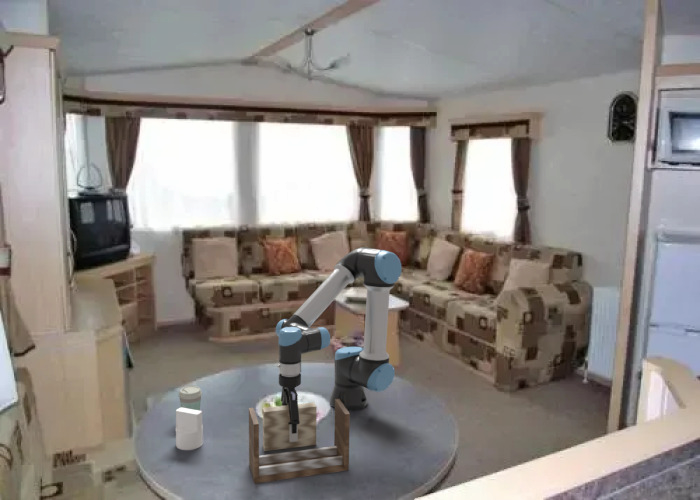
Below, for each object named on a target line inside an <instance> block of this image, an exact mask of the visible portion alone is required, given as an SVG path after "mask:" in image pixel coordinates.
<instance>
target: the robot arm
mask: <svg viewBox="0 0 700 500" xmlns="http://www.w3.org/2000/svg"><path fill="white" fill-rule="evenodd" d="M333 267H334V270H333V271H332V272H331V273H330V274H329V275H328V276H327V277H326V278H325V280H324V281H323V282H321V284H320V285H319V286H318V287H317V288H316V289H315V291H313V293H312V294H311V295H310V296H309V297H308V298H307V299H306V300H305V301H304V303H303V304H301V306H300V307H299V308H297V310H296V311H295V312H294V313H293V314H292V316H290V318H289V319H288V318H283V319H281V320H280V321H279V322H277V324H276V327H275V334H276V336H277V337H278V342H277V343H278V364H277V365H276V367H277V368H278V373H279V374H278V385H279V386H280V387H282V388H281V395H280V402H281V406H286V405H288V408H289V416H290V422H289V423H288V425H289V442H296V441H298V424H299V423H300V422H299V412H298V404H299V403H298V400H299V399H298V392H297V390H296V388H297V387H298V386H300V385H301V384H302V354H303V355H304V354H306V353H307V354H308V353H311V352H316V351H321V350H323V349H326V348H328V346H330V343H331V334H330V332H329V330H328V329H327V328H326V327H323V326H321V327H311V326H312V325H313V324H314V322H315V321H316V320H317V319H319V317H320V316H321V315H322V314H323V312H324V311H326V309H328V307H329V306H330V305H331V304H332V302H333V301H334V300H336V298H337V297H338V296H339V294H340V293H341V292H342V291H343V290H344V289H346V287H347V285H349V284H353V283H354V282H355V281H356V280H357V279H359V278H363V286H364V287H365V288H366V301H365V303H366V305H365V318H364V321H365V322H364V337H363V347H360V346H346V347H341V348H339V349H338V348H337V350H336V351H335V353H334V386H333V388H332V392H331V394H330V398H329V404H331V405H332V406H333V407H332V406H331V405H330V406H331V407H332V408H334V407H335V399H340V401H341V402H342V403H343V405H344V406H345V408H346V409H347V410H353V411H358V410H357V409H359V410H362V409H364V408H366V406H367V405H368V397H367V394H366V390H365V389H368V390H369V391H373V392H376V393H381V392H384V391H386V390H387V389H388V388H390V386H391V385H392V383H393V381H394V379H395V373H396V372H395V367H394V365H392V364H391V363H390V355H389V353H388V352H387V337H388V325H389V324H388V323H389V303H390V293H391V292H390V291H391V290H392V289H393V288H394V287H395V283H397V281H399V278H400V277H401V275H402V262H401V260H400V258H399V257H398V255H397V254H395V252H391V251H388V250H384V249H379V248H378V249H377V248H371V247H358V248H356V249H353V250H352V251H349V252H348V253H347V254H346V255H344V256H343V257H342V258H341V259H340V260H338V262H337V263H336V264H335V265H334V266H333ZM363 407H364V408H363ZM361 408H362V409H361Z"/></svg>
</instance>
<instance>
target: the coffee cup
mask: <svg viewBox="0 0 700 500" xmlns="http://www.w3.org/2000/svg"><path fill="white" fill-rule="evenodd" d="M202 395H203V391H202V389H201V388H200V387H199V386H197V385H195V386H194V385H188V386H184V387H181V389H180V390H179V392H178V397H179V403H180V408H181V407H182V408H188V409H193V410H199V411H201V402H202V401H201V400H202Z"/></svg>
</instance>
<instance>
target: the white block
mask: <svg viewBox="0 0 700 500" xmlns="http://www.w3.org/2000/svg"><path fill="white" fill-rule="evenodd" d="M203 444H204V426H203V411H202V410H200V411H199V410H193V409H188V408H182V407H181V406H180V407H179V408H177V409H176V410H175V445H176V446H175V447H176V448H177V449H179V450H181V451H194V450H196V449H199V448H200V447H202V445H203Z"/></svg>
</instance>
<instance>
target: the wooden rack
mask: <svg viewBox="0 0 700 500" xmlns="http://www.w3.org/2000/svg"><path fill="white" fill-rule="evenodd" d="M350 418H351V414H350V411H348V410H347V409H346V408H345V406H344V405H343V403H342V402H341V401H340V399H335V408H334V435H333V436H334V437H333V438H334V440H333V441H334V442H333V443H334V444H333V446H325V447H324V446H323V447H317V448H309V449H302V450H295V451H285V452H277V453H271V454H263V455H260V423H259V420H258V417H257V414H256V411H255V408H254V407H248V464H249V468H250V473H251V475H252V480H253V484H260V483H268V482H275V481H281V480H290V479H297V478H301V477H309V476H317V475H322V474H323V475H325V474H332V473H339V472H344V471H345V472H346V471H349V470H350V428H351V425H350V422H351V419H350Z"/></svg>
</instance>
